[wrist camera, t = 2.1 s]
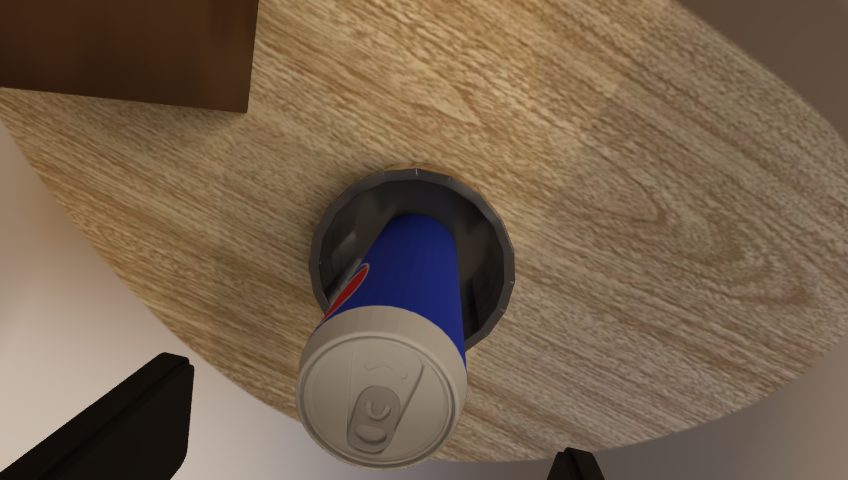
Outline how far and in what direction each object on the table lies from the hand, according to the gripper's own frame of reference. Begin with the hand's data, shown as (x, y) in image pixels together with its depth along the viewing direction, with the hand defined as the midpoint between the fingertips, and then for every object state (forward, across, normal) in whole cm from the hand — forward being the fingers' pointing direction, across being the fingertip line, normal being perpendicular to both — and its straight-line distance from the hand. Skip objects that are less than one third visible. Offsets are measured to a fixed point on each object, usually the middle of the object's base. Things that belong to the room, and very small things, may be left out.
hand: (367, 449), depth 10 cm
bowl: (+17, 0, 0) cm, 17 cm away
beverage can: (+16, 0, 0) cm, 17 cm away
